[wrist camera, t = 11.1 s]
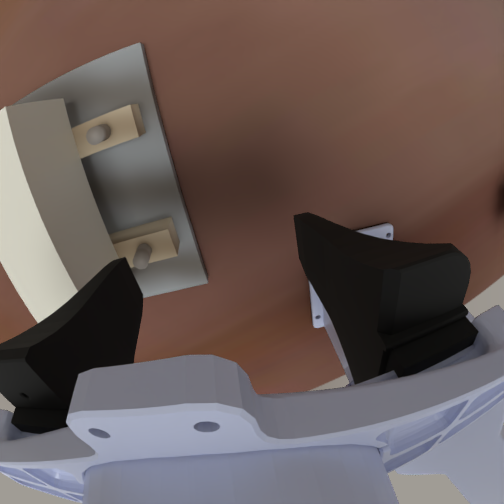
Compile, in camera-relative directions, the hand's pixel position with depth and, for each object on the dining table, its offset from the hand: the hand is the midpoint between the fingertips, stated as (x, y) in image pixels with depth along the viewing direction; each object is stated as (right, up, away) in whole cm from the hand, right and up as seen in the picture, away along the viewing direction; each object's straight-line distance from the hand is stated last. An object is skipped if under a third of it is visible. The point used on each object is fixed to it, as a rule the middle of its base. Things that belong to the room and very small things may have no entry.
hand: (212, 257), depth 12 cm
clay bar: (-10, +3, +4) cm, 11 cm away
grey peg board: (-10, +4, +7) cm, 13 cm away
